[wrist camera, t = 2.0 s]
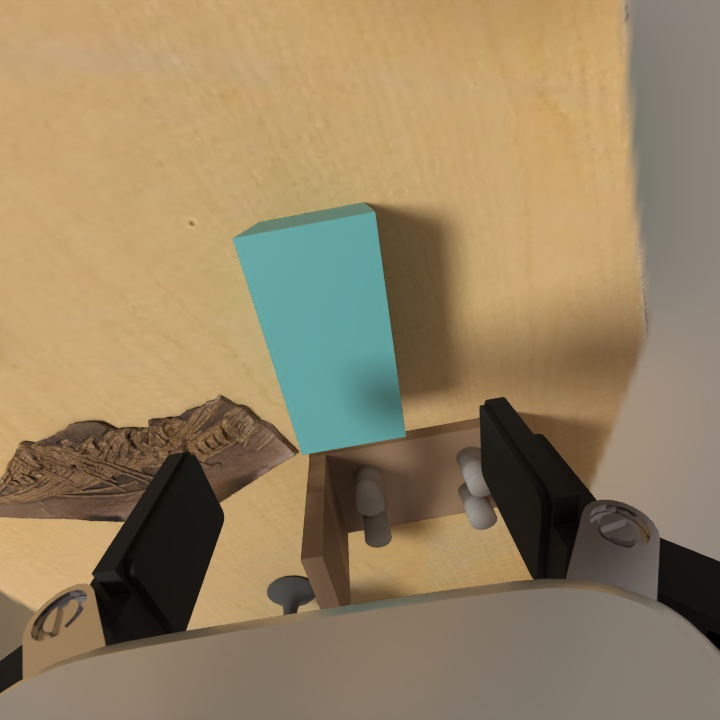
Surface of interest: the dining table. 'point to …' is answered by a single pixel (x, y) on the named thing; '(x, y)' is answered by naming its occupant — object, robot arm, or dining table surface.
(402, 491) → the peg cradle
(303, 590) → the sundae
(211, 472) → the wooden fragment
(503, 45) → the dining table surface
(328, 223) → the turquoise block
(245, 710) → the robot arm
